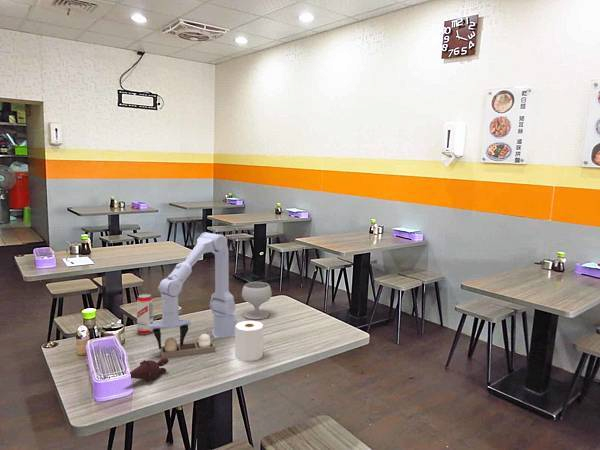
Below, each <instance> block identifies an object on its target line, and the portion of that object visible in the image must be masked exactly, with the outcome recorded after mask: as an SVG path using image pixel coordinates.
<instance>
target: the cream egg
mask: <svg viewBox="0 0 600 450" xmlns="http://www.w3.org/2000/svg"><path fill="white" fill-rule="evenodd" d="M210 340H211V337H210V335H209V334H207V333H202V334H201V335H200V336H199V337H198V342H199V348H206V347H210Z"/></svg>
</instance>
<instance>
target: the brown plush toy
mask: <svg viewBox="0 0 600 450" xmlns="http://www.w3.org/2000/svg"><path fill="white" fill-rule="evenodd" d="M169 362H170V359H167V358H164V359H161V358H160V360H159V361H158V362H157V361H155V360H154V359H149V360H142V361H141V362H139V366H137V367H135V368H134V369H133V370H131V371H129V373H130V374H131V378H130V379H137V380H142V381H144V382H146V383H149V382H150V381H151V380H155V379H156V378H157V377H158V375H161V374H163V373H166V372H167V368H165V367H163V366H166V365H168V363H169Z"/></svg>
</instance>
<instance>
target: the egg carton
mask: <svg viewBox="0 0 600 450" xmlns="http://www.w3.org/2000/svg"><path fill="white" fill-rule="evenodd" d="M212 353H216V346H215V344H214V341H213V340H212V339H210V347H206V348H199V341H193V342H187V343H186V342H185V343H183V346H181V345H180V343H177V351H175V352H167V353H165V345H161V349H160V351H159V354H160V360H161V359H164V358H167V359H168V360H170V359H175V358H182V357H190V356H191V357H192V356H198V355H204V354H205V355H206V354H212Z"/></svg>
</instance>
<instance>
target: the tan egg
mask: <svg viewBox="0 0 600 450" xmlns="http://www.w3.org/2000/svg"><path fill="white" fill-rule="evenodd" d="M177 344H178V342H177V339H176V338H174V337H167V338H166V340H165V341H164V345H163V346H165V353H167V352H175V351H177Z"/></svg>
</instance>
